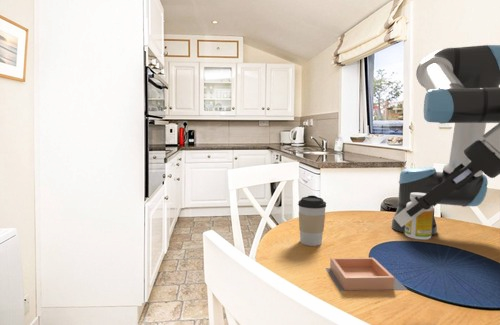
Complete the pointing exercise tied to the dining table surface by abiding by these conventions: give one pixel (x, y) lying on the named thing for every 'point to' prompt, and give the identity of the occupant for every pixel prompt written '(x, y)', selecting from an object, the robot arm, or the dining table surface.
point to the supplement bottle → (419, 221)
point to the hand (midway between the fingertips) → (401, 218)
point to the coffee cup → (311, 220)
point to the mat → (396, 287)
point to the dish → (361, 274)
